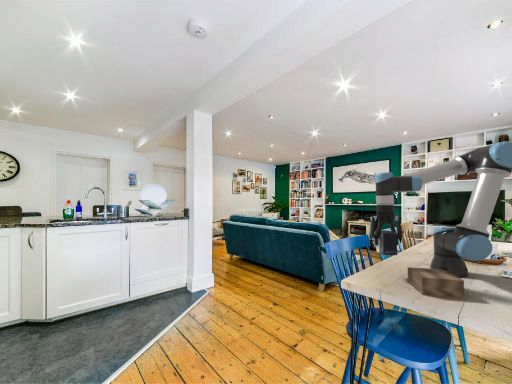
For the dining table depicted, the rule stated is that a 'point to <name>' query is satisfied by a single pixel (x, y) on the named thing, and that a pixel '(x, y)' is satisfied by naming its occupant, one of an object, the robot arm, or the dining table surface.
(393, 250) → the small box
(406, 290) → the dining table surface
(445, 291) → the walnut block
